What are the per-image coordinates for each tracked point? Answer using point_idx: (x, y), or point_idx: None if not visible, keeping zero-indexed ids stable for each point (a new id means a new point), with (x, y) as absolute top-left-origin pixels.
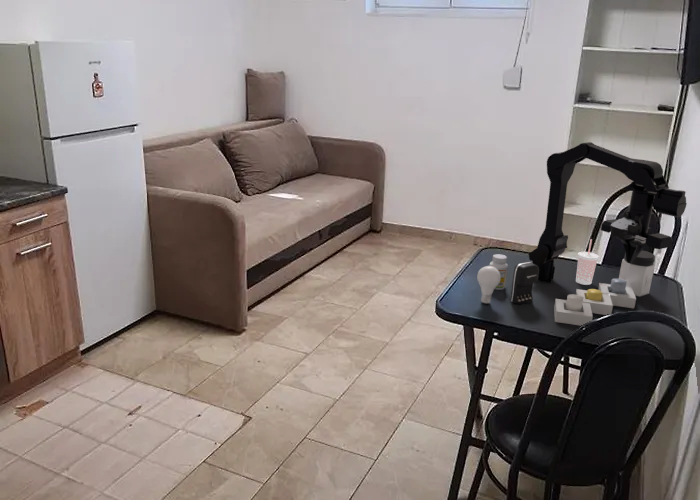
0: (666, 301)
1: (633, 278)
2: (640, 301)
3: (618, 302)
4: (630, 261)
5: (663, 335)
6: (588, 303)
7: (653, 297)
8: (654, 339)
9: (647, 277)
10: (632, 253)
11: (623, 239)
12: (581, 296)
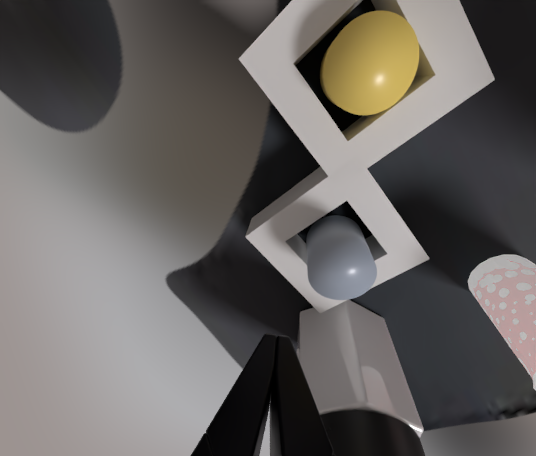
0: (241, 333)
1: (332, 351)
2: (277, 283)
3: (294, 191)
4: (256, 348)
5: (47, 92)
6: None
7: (276, 332)
8: (16, 13)
9: None
10: (216, 436)
11: None
12: None
